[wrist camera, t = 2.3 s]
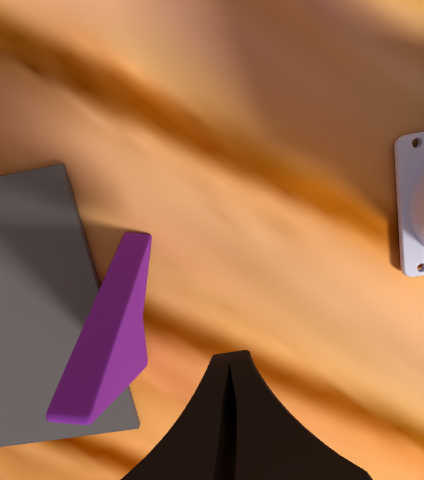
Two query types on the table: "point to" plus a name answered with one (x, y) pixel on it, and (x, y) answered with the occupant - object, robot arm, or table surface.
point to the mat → (44, 306)
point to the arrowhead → (107, 339)
